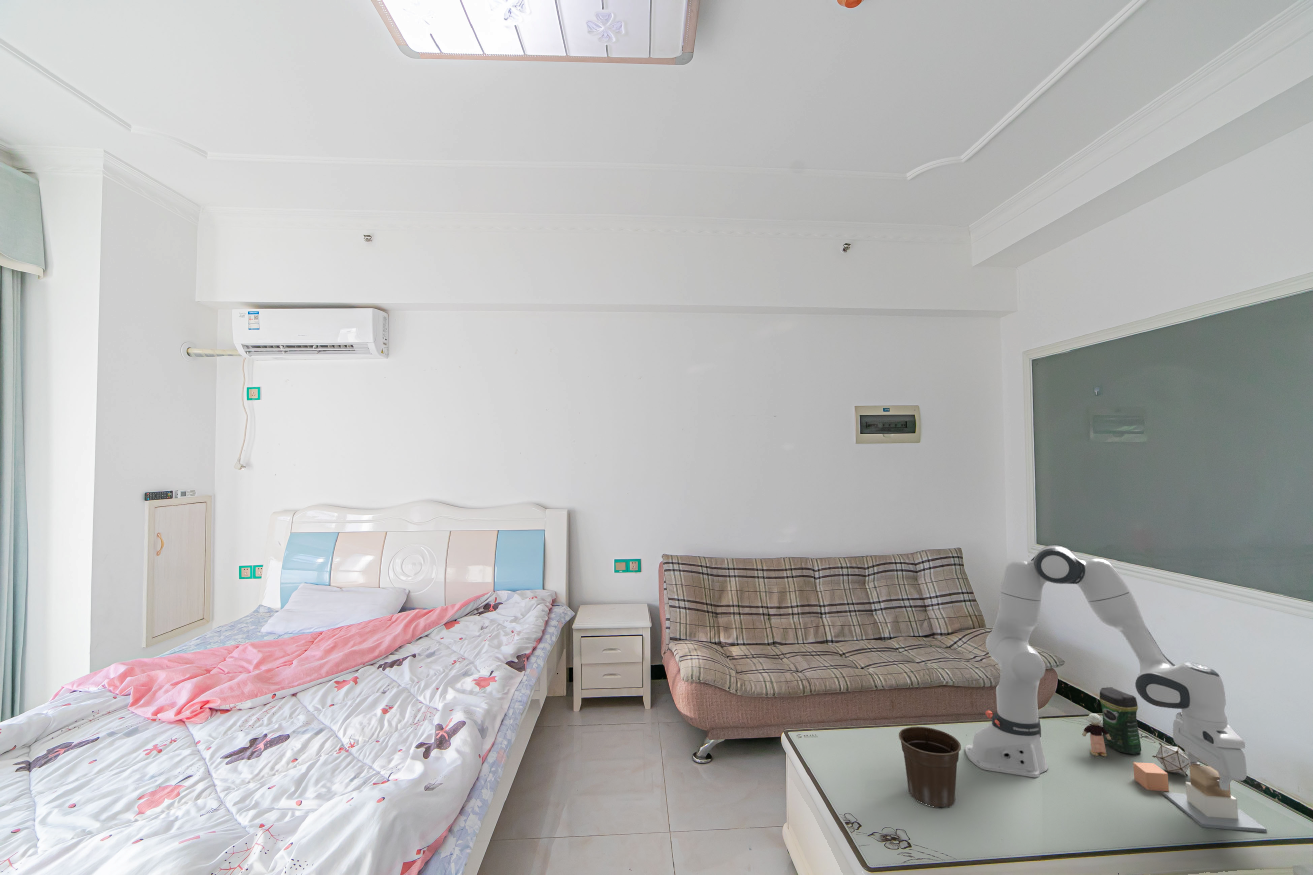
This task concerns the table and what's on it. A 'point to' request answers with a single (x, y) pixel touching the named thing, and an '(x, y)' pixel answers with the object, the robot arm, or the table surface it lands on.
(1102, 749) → the grandmother figurine
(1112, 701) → the coffee jar
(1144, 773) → the terracotta brick
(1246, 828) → the baseplate
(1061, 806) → the table surface
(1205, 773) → the oak brick
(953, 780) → the plant pot
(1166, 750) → the game die
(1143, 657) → the robot arm
